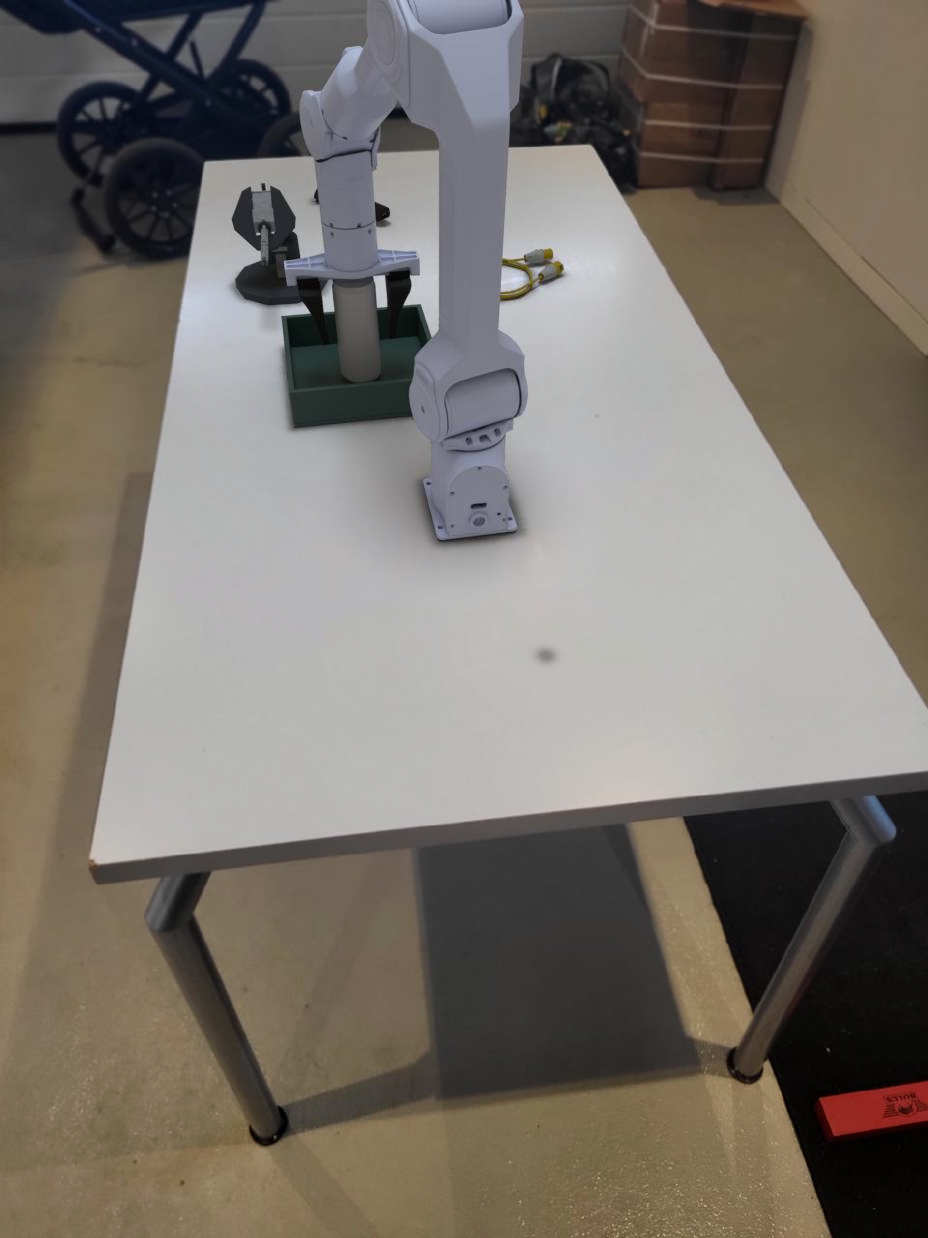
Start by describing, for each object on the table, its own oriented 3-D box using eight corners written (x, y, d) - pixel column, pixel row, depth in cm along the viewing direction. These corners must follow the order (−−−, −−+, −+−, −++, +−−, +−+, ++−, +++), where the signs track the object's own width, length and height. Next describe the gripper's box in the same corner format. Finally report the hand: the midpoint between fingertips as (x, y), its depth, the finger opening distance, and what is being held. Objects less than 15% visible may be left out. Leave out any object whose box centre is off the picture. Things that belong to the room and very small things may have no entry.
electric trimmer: (378, 231, 135) (377, 210, 132) (312, 201, 142) (310, 180, 139) (396, 224, 137) (395, 203, 134) (330, 194, 144) (328, 174, 141)
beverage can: (375, 388, 104) (368, 290, 95) (336, 383, 104) (325, 286, 96) (386, 367, 107) (380, 270, 98) (348, 362, 108) (338, 266, 99)
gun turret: (234, 333, 113) (213, 232, 104) (237, 263, 127) (219, 168, 117) (332, 326, 115) (321, 226, 105) (325, 257, 128) (315, 163, 119)
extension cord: (569, 299, 120) (571, 285, 119) (454, 301, 119) (454, 287, 118) (558, 258, 128) (559, 245, 127) (450, 260, 128) (450, 247, 126)
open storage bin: (445, 411, 101) (444, 377, 98) (294, 427, 99) (289, 392, 96) (421, 336, 113) (420, 303, 110) (286, 349, 111) (281, 315, 107)
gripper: (411, 197, 96) (415, 315, 106) (276, 207, 94) (293, 325, 104) (421, 224, 91) (424, 345, 101) (279, 235, 89) (297, 356, 99)
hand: (358, 337), depth 102 cm, fingers open, 7 cm apart
